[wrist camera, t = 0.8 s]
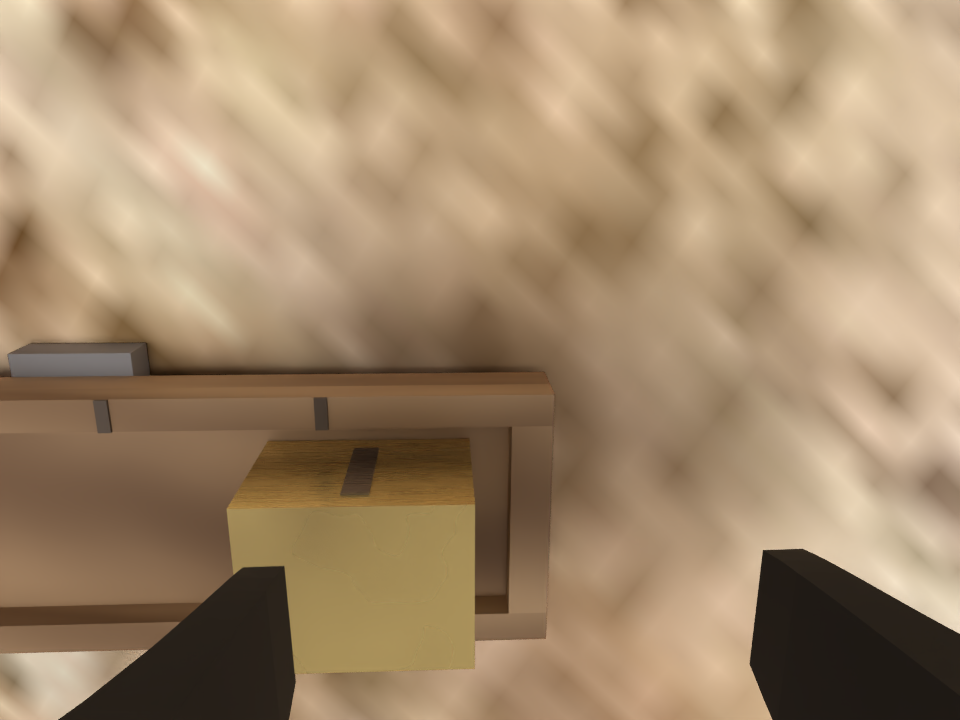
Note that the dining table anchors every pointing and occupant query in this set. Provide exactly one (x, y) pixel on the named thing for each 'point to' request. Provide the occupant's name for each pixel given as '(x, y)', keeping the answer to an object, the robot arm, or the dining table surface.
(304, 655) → the yellow block
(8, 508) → the brown rectangular tray
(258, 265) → the dining table surface
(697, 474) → the dining table surface
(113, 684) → the robot arm
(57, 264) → the dining table surface
